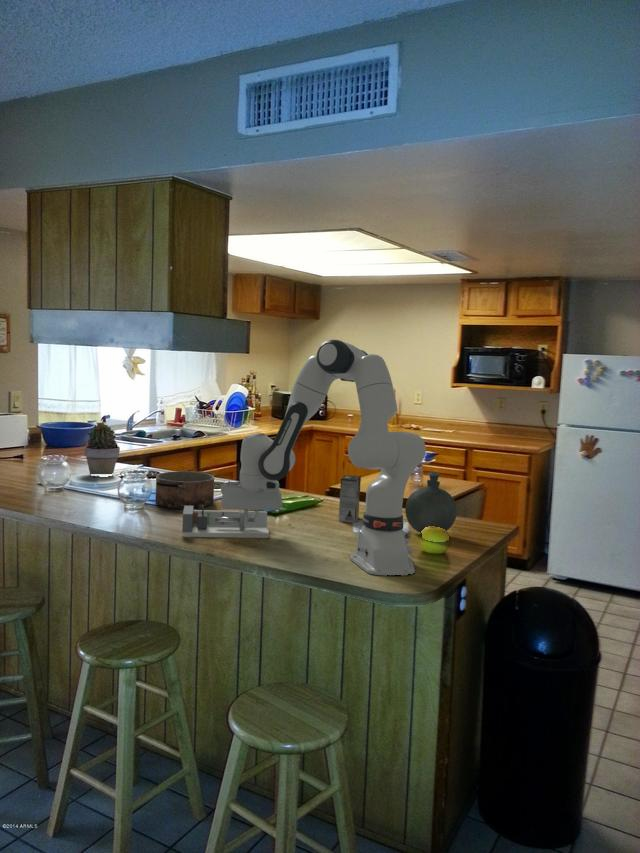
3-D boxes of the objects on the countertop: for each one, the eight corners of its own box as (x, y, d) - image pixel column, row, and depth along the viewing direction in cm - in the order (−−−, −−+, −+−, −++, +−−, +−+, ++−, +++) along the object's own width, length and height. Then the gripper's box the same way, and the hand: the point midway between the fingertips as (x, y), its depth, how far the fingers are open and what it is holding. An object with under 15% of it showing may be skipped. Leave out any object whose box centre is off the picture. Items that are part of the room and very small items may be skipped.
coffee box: (342, 515, 264) (344, 474, 262) (358, 517, 262) (361, 475, 261) (338, 521, 255) (340, 478, 253) (355, 523, 254) (357, 480, 252)
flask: (446, 542, 234) (451, 478, 231) (400, 533, 242) (404, 471, 240) (458, 535, 244) (462, 474, 241) (413, 527, 252) (417, 467, 250)
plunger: (244, 529, 229) (244, 514, 228) (215, 529, 227) (215, 514, 227) (243, 524, 234) (243, 510, 234) (215, 524, 233) (215, 509, 232)
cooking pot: (187, 514, 253) (188, 485, 252) (137, 506, 261) (138, 478, 260) (228, 500, 281) (229, 474, 280) (182, 493, 289) (183, 468, 288)
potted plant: (113, 470, 330) (114, 418, 328) (127, 477, 315) (129, 423, 312) (75, 472, 320) (75, 419, 317) (87, 480, 304) (88, 424, 302)
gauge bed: (268, 537, 227) (270, 515, 226) (182, 536, 223) (183, 514, 222) (266, 528, 239) (267, 507, 238) (183, 527, 234) (184, 505, 234)
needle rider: (206, 528, 227) (207, 507, 226) (197, 528, 227) (198, 507, 226) (206, 524, 232) (207, 504, 231) (197, 524, 232) (198, 503, 231)
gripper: (221, 482, 226) (219, 524, 227) (283, 484, 229) (281, 525, 230) (221, 479, 232) (219, 519, 233) (281, 480, 235) (279, 520, 236)
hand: (250, 522), depth 232 cm, fingers closed
